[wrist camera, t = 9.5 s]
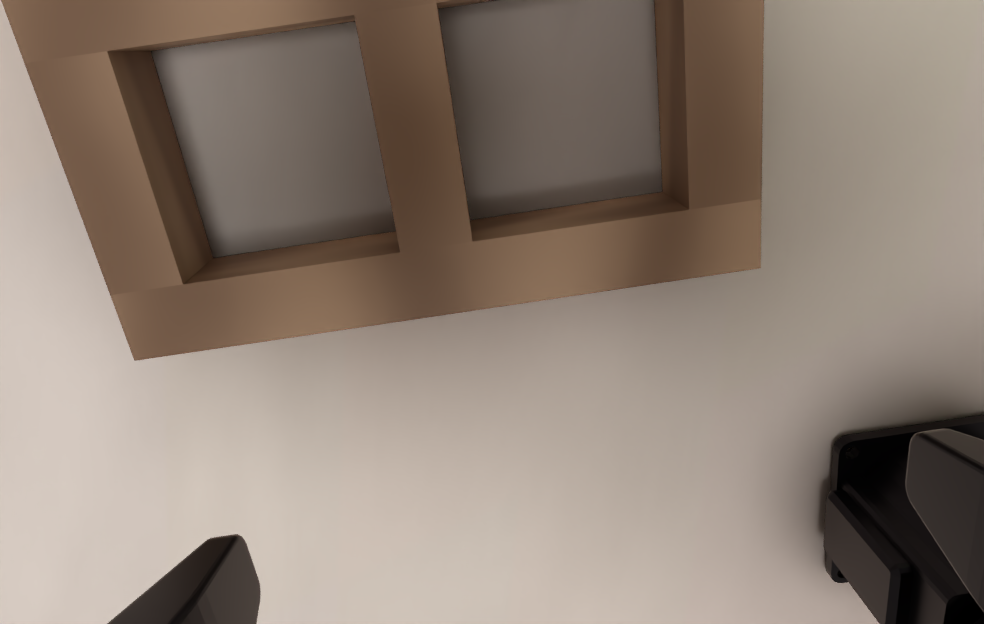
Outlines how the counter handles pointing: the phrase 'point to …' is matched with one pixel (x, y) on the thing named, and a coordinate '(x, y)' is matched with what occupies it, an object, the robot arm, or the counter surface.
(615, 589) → the counter surface
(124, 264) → the wooden compartment tray
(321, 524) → the counter surface
